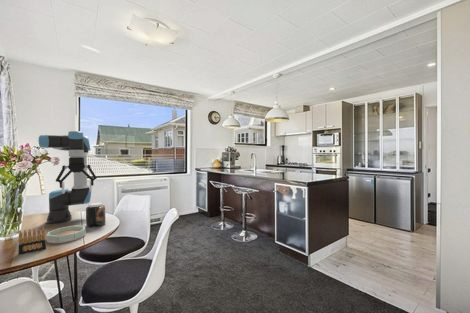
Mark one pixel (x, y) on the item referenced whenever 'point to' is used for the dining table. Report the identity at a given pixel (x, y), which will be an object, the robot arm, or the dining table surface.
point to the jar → (95, 215)
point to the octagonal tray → (66, 234)
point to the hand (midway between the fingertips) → (77, 192)
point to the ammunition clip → (31, 241)
